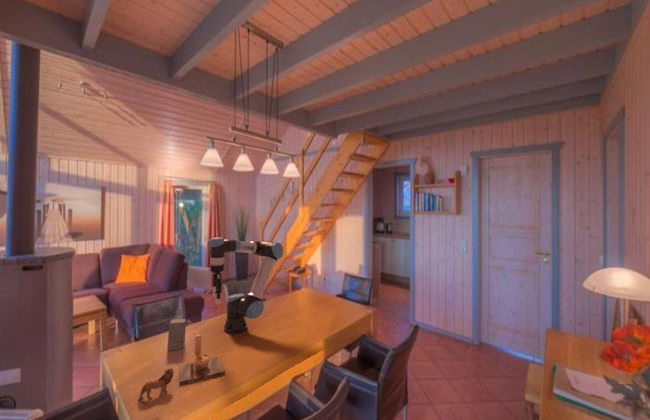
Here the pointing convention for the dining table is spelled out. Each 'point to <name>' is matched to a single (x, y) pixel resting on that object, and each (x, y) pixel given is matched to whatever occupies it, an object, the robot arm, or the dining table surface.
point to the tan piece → (199, 353)
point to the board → (200, 370)
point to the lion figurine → (157, 384)
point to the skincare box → (176, 334)
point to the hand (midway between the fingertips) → (216, 300)
